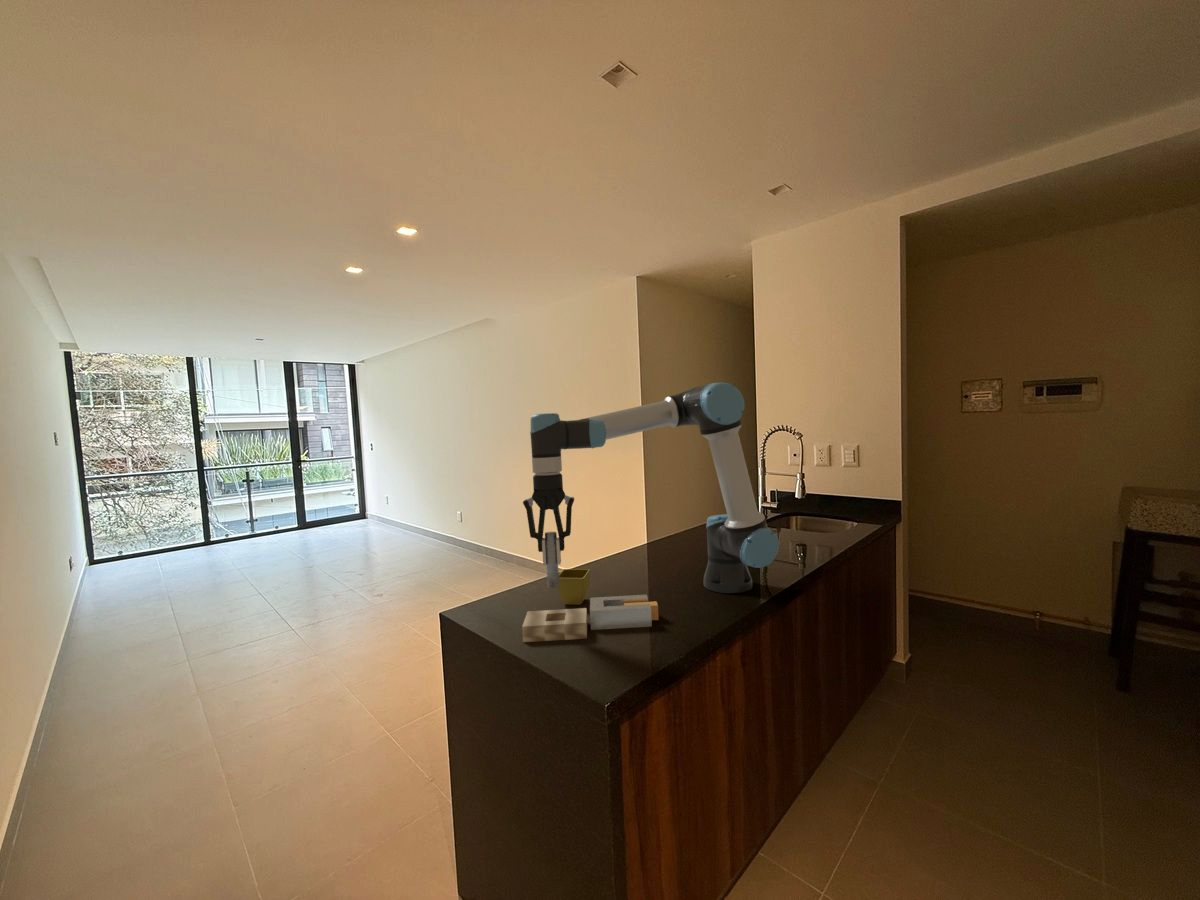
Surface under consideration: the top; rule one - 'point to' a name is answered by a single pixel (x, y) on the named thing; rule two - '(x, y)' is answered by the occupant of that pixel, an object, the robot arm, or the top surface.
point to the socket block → (619, 612)
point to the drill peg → (551, 560)
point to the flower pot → (573, 585)
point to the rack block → (555, 625)
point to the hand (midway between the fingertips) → (552, 563)
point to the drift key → (653, 608)
